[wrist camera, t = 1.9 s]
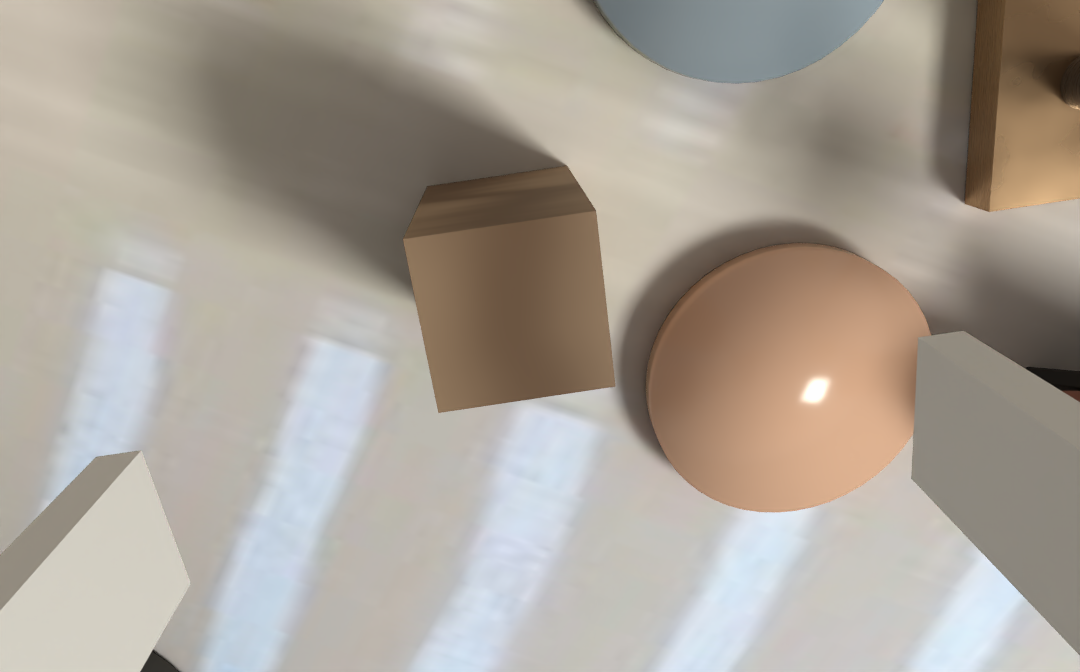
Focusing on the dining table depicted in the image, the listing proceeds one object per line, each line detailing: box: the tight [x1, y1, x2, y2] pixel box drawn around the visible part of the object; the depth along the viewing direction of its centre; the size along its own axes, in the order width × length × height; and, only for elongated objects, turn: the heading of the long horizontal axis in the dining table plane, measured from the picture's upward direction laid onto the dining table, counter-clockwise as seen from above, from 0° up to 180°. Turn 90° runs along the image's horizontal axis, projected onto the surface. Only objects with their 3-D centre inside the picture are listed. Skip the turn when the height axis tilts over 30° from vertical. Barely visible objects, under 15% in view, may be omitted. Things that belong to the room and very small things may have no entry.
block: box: [403, 166, 615, 413], centre depth 24 cm, size 5×5×8 cm
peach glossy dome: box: [646, 243, 931, 512], centre depth 30 cm, size 11×11×1 cm
